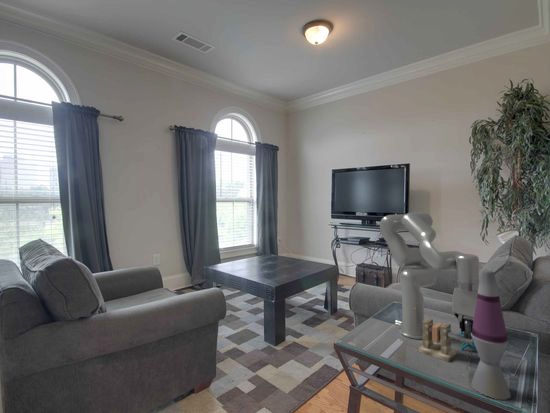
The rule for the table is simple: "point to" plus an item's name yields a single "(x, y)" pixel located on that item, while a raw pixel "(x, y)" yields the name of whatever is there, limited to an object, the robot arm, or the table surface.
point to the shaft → (464, 338)
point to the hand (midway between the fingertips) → (468, 332)
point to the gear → (467, 344)
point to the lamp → (489, 339)
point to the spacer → (436, 333)
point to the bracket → (433, 348)
